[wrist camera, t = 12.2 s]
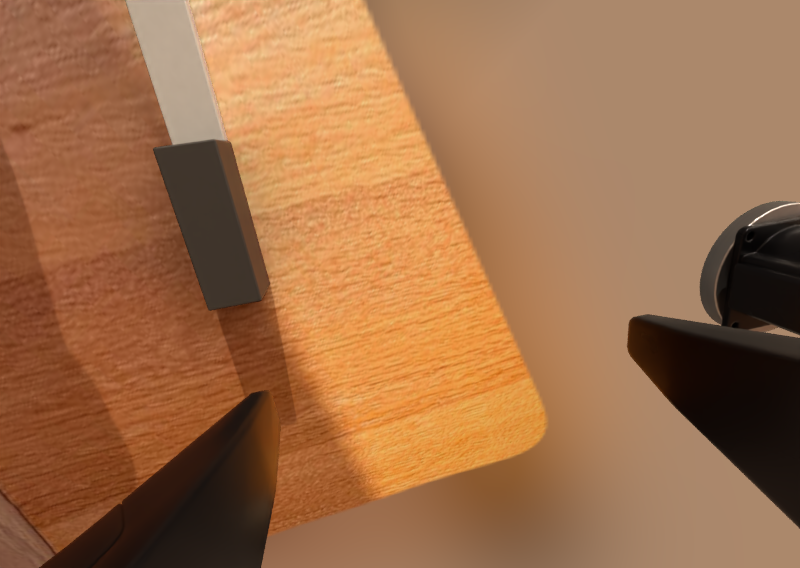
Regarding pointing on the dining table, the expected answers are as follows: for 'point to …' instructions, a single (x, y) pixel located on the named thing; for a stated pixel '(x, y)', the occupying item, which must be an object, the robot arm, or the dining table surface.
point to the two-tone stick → (199, 158)
